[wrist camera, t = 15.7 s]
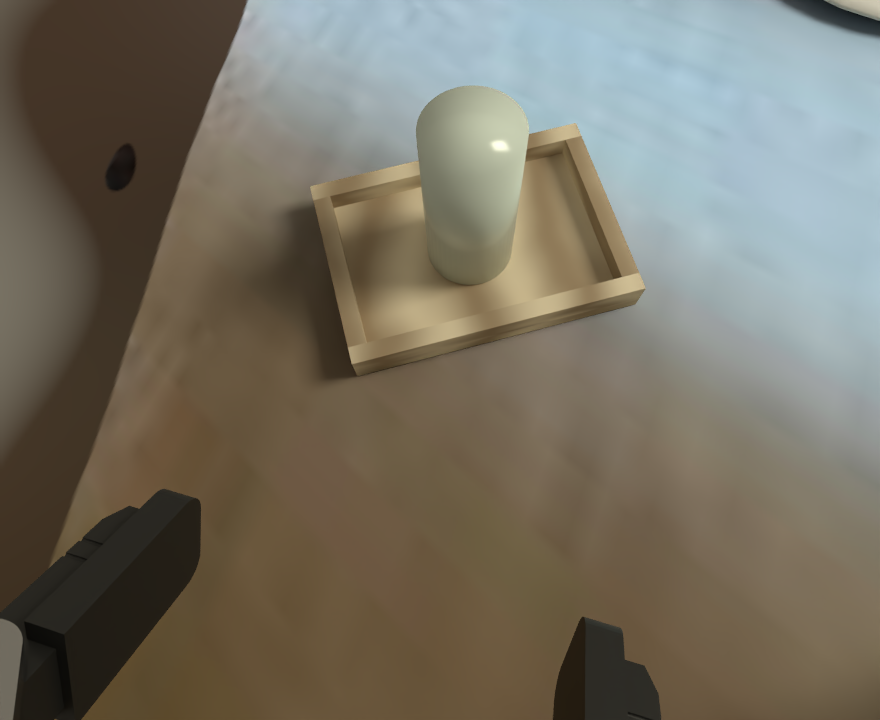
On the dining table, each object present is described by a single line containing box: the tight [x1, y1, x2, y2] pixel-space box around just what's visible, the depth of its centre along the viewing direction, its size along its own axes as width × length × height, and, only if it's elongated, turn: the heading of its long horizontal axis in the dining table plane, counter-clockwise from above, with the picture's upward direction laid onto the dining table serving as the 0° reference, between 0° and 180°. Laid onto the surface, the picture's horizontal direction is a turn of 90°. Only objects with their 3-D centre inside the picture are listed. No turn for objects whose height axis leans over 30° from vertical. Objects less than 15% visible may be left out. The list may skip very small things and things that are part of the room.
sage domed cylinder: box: [416, 86, 529, 285], centre depth 39 cm, size 6×6×12 cm
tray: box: [310, 123, 646, 376], centre depth 44 cm, size 20×14×2 cm
